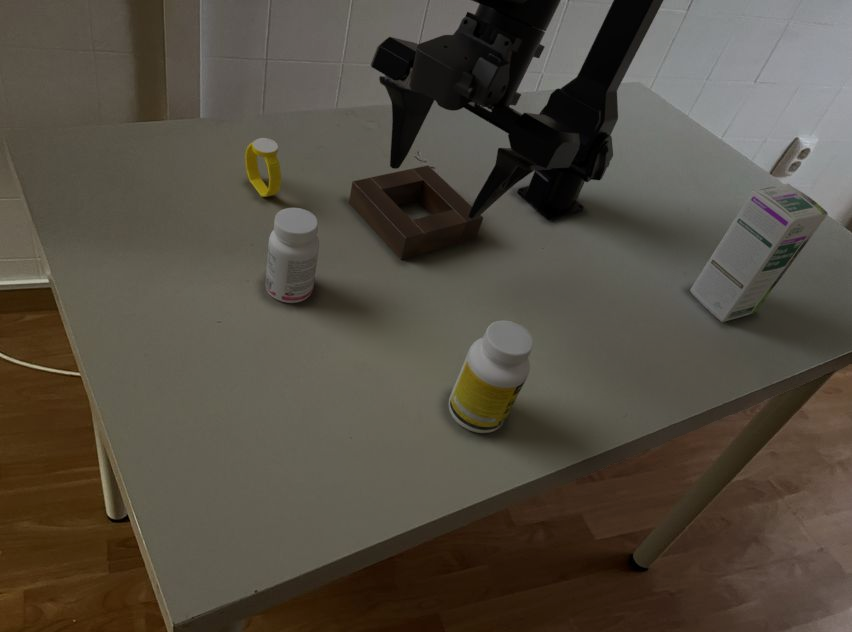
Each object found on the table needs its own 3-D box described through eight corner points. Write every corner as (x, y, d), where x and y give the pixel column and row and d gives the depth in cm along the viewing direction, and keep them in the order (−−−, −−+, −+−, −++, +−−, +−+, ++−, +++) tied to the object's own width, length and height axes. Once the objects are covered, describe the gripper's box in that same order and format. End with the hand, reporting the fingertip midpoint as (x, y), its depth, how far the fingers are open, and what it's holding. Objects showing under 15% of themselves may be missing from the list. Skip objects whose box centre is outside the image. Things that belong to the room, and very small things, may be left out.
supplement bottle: (502, 442, 63) (540, 369, 56) (443, 425, 63) (473, 350, 56) (507, 397, 67) (543, 324, 60) (451, 381, 67) (481, 306, 60)
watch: (238, 177, 83) (240, 131, 78) (259, 173, 84) (262, 127, 80) (262, 207, 80) (266, 160, 75) (284, 201, 81) (289, 156, 77)
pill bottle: (319, 282, 73) (330, 215, 67) (301, 310, 69) (310, 243, 63) (277, 266, 73) (284, 198, 67) (256, 293, 70) (261, 224, 64)
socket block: (422, 185, 89) (428, 165, 87) (476, 238, 83) (483, 217, 81) (348, 202, 83) (352, 181, 81) (400, 260, 78) (406, 238, 76)
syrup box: (722, 324, 81) (798, 221, 70) (686, 290, 84) (754, 187, 74) (754, 314, 83) (832, 213, 73) (718, 281, 86) (788, 180, 76)
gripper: (369, -51, 53) (301, 142, 61) (576, 55, 47) (472, 257, 54) (442, -21, 62) (375, 144, 70) (624, 71, 56) (529, 243, 63)
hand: (432, 192), depth 64 cm, fingers open, 9 cm apart
